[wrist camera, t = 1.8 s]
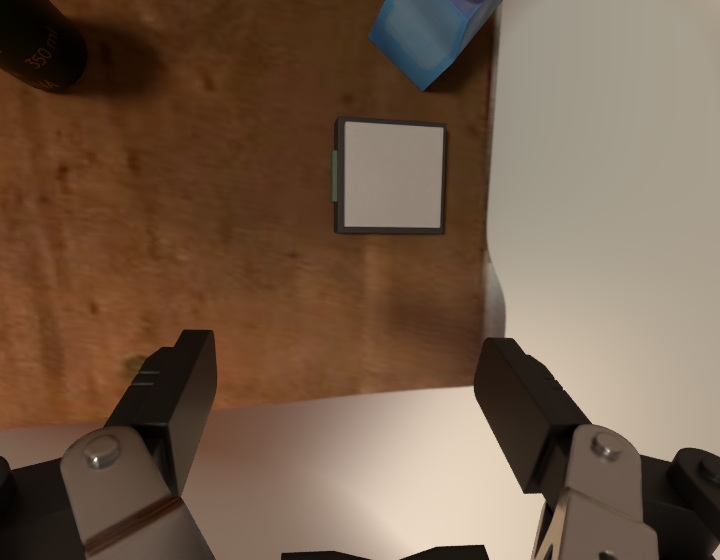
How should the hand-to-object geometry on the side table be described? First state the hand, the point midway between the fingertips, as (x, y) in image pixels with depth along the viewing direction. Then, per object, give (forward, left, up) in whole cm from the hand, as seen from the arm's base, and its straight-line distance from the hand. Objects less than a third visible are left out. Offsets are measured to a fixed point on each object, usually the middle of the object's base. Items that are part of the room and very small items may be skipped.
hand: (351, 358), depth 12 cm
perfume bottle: (-15, +17, -23) cm, 32 cm away
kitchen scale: (-5, +10, -23) cm, 25 cm away
